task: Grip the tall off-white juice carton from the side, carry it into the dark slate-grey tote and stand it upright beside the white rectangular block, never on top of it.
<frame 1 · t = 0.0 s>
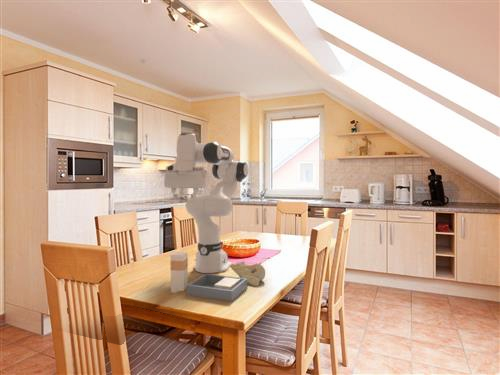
hand: (184, 198, 142), 39 cm above the table, tool pointing down, fingers open, 8 cm apart
white rectangular block: (227, 292, 128), point 1 cm above the table, touching tote
juice carton: (179, 290, 134), on the table
tote: (217, 293, 130), on the table
beige rock: (246, 283, 143), on the table
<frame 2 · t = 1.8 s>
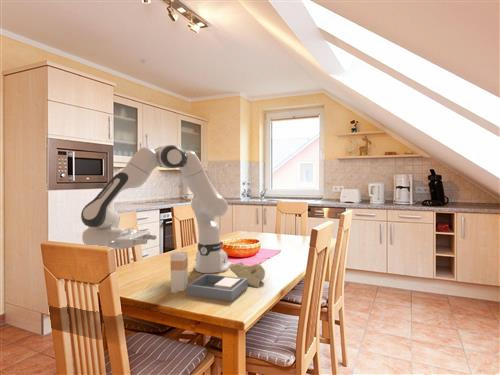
hand: (151, 239, 134), 22 cm above the table, tool horizontal, fingers open, 8 cm apart
beige rock: (245, 284, 142), on the table
everything else where it was.
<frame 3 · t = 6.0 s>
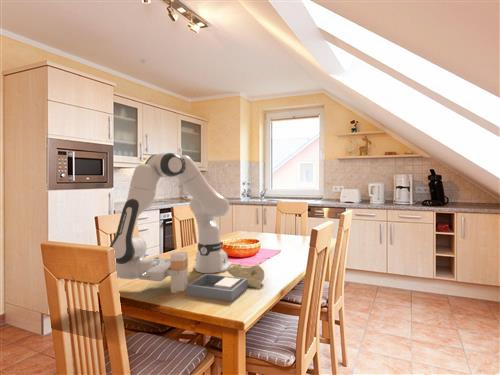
hand: (181, 270, 134), 9 cm above the table, tool horizontal, fingers closed on juice carton, 6 cm apart
juice carton: (179, 290, 134), on the table, touching gripper
beige rock: (244, 286, 139), on the table
everything else where it was.
when the fingers open (11 cm above the table, at t = 10.6 s): juice carton drops 1 cm, resting on tote.
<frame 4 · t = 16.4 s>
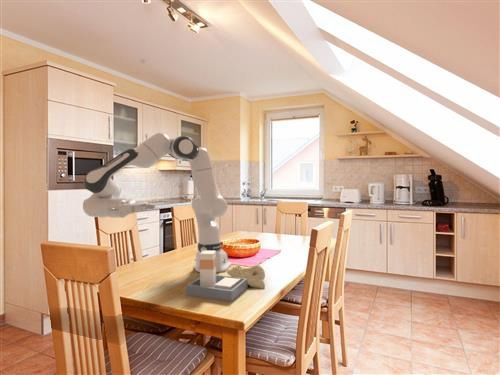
hand: (150, 207, 137), 35 cm above the table, tool horizontal, fingers open, 8 cm apart
juice carton: (208, 289, 132), point 1 cm above the table, touching tote
beige rock: (246, 288, 137), on the table
everything else where it was.
at the end: juice carton inside the target area on the tote (0.0 cm from its centre), point 1.0 cm above the tote's base; juice carton tilted 0°; white rectangular block moved 0.1 cm from its start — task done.
